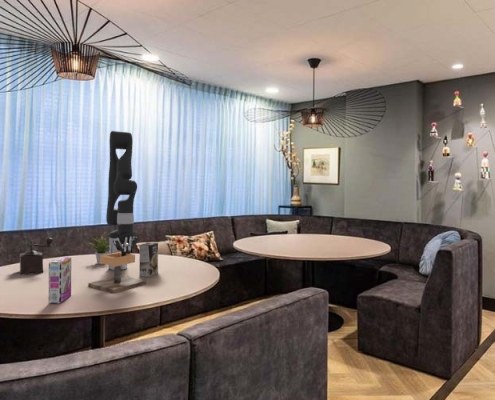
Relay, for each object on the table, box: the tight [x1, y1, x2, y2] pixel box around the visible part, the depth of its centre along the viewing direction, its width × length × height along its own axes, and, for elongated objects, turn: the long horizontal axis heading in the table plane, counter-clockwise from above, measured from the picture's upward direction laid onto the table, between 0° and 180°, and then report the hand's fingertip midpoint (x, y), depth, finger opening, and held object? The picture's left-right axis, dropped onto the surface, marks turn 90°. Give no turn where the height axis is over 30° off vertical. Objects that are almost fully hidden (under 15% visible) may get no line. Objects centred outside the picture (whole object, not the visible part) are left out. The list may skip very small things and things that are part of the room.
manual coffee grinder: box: [19, 237, 54, 275], centre depth 200 cm, size 16×11×18 cm
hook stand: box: [87, 266, 147, 294], centre depth 176 cm, size 18×18×9 cm
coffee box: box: [138, 242, 159, 278], centre depth 196 cm, size 9×6×16 cm
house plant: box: [88, 235, 110, 265], centre depth 224 cm, size 14×14×16 cm
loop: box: [99, 252, 136, 267], centre depth 175 cm, size 11×11×4 cm
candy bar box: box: [48, 256, 72, 305], centre depth 154 cm, size 11×5×16 cm, turn 5°
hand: (125, 258), depth 180 cm, fingers closed on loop, 1 cm apart
